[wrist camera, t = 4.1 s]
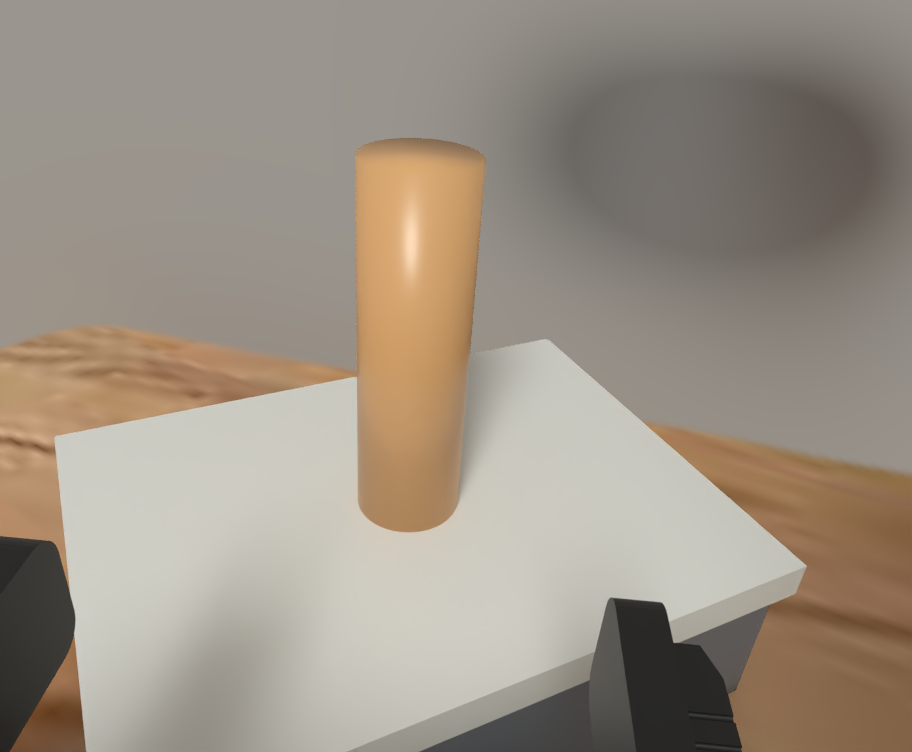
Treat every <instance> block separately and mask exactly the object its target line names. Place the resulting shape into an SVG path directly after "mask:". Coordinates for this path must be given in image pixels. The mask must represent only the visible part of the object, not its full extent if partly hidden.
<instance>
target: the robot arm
mask: <svg viewBox="0 0 912 752" xmlns="http://www.w3.org/2000/svg"><path fill="white" fill-rule="evenodd" d="M75 620H76V619H75V611H74V607H73V603H72V599H71V596H70V592H69V588H68V585H67V581H66V577H65V574H64V570H63V566H62V563H61V559H60V555H59V552H58V549H57V547H56V545H55V544H54V543H53V542H51V541H44V540H34V539H23V538H13V537H3V536H0V752H10V750H11V748H12V747H13V745H14V743H15V741H16V740H17V738H18V736H19V735H20V733H21V731H22V730H23V728H24V726H25V725H26V723H27V721H28V720H29V718H30V716H31V715H32V713H33V711H34V709H35V708H36V706H37V704H38V703H39V701H40V699H41V698H42V696H43V694H44V693H45V691H46V689H47V688H48V686H49V684H50V683H51V681H52V679H53V678H54V676H55V674H56V672H57V671H58V669H59V667H60V666H61V664H62V662H63V661H64V659H65V657H66V655H67V653H68V651H69V649H70V646H71V643H72V640H73V636H74V631H75ZM589 711H590V722H591V733H592V744H593V752H741V747H742V745H741V742H740V738H739V734H738V730H737V727H736V723H734V722H733V712H732V708H731V705H730V701H729V697H728V693H727V690H726V686H725V682H724V679H723V677H722V676H721V674H720V673H719V671H718V670H717V669H716V667H715V666H714V664H713V663H712V662H711V660H710V659H709V657H708V656H707V654H706V653H705V652H704V650H703V649H702V647H701V646H700V645H693V644H683V643H673V638H672V634H671V629H670V624H669V620H668V615H667V611H666V608H665V606H664V604H663V603H662V602H653V601H643V600H632V599H622V598H612V597H610V598H609V600H608V602H607V605H606V608H605V612H604V617H603V621H602V625H601V629H600V633H599V637H598V641H597V645H596V649H595V653H594V658H593V662H592V666H591V672H590V683H589Z"/></svg>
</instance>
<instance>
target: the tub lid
mask: <svg viewBox="0 0 912 752" xmlns="http://www.w3.org/2000/svg"><path fill="white" fill-rule="evenodd" d="M485 167H486V159H485V157H484V156H483V155H482V154H481V153H480V152H478V151H476V150H475V149H472V148H470V147H467V146H464V145H460V144H457V143H452V142H447V141H441V140H434V139H421V138H399V139H387V140H381V141H376V142H372V143H369V144H366V145H364V146H362V147H360V148H359V149H358V150H357V151H356V285H357V286H356V291H357V292H356V294H357V295H356V297H357V377H352V378H347V379H342V380H337V381H332V382H327V383H322V384H317V385H312V386H306V387H301V388H296V389H291V390H286V391H281V392H276V393H271V394H266V395H261V396H256V397H251V398H246V399H241V400H236V401H231V402H226V403H221V404H216V405H211V406H206V407H201V408H196V409H191V410H186V411H181V412H176V413H170V414H165V415H160V416H155V417H150V418H145V419H140V420H135V421H130V422H125V423H120V424H115V425H110V426H105V427H100V428H95V429H90V430H85V431H80V432H75V433H70V434H65V435H60V436H55V437H54V438H55V448H56V458H57V467H58V477H59V487H60V497H61V507H62V517H63V527H64V536H65V546H66V556H67V566H68V576H69V586H70V595H71V599H72V603H73V607H74V611H75V619H76V620H75V631H74V635H75V645H76V655H77V664H78V674H79V684H80V694H81V704H82V714H83V723H84V733H85V743H86V752H420V751H422V750H424V749H427V748H429V747H431V746H434V745H436V744H439V743H441V742H443V741H446V740H448V739H450V738H453V737H455V736H458V735H460V734H462V733H465V732H467V731H470V730H472V729H474V728H477V727H479V726H481V725H484V724H486V723H489V722H491V721H493V720H496V719H498V718H501V717H503V716H505V715H508V714H510V713H512V712H515V711H517V710H520V709H522V708H524V707H527V706H529V705H532V704H534V703H536V702H539V701H541V700H543V699H546V698H548V697H551V696H553V695H555V694H558V693H560V692H563V691H565V690H567V689H570V688H572V687H574V686H577V685H579V684H582V683H584V682H586V681H589V680H590V672H591V666H592V662H593V658H594V653H595V649H596V645H597V641H598V637H599V633H600V629H601V625H602V621H603V617H604V612H605V608H606V605H607V602H608V600H609V598H610V597H612V598H622V599H632V600H643V601H653V602H662V603H663V604H664V606H665V608H666V611H667V615H668V620H669V624H670V629H671V634H672V638H673V643H679V642H682V641H684V640H687V639H689V638H691V637H694V636H696V635H698V634H701V633H703V632H706V631H708V630H710V629H713V628H715V627H718V626H720V625H722V624H725V623H727V622H729V621H732V620H734V619H737V618H739V617H741V616H744V615H746V614H749V613H751V612H753V611H756V610H758V609H760V608H763V607H765V606H768V605H770V604H772V603H775V602H777V601H780V600H782V599H784V598H787V597H789V596H791V595H794V594H795V593H796V591H797V589H798V586H799V584H800V581H801V579H802V577H803V574H804V572H805V570H806V567H807V566H806V565H805V564H804V563H803V562H802V561H801V560H799V559H798V558H797V557H796V556H795V555H794V554H793V553H791V552H790V551H789V550H788V549H787V548H786V547H785V546H783V545H782V544H781V543H780V542H779V541H778V540H777V539H775V538H774V537H773V536H772V535H771V534H770V533H769V532H767V531H766V530H765V529H764V528H763V527H762V526H761V525H759V524H758V523H757V522H756V521H755V520H754V519H753V518H751V517H750V516H749V515H748V514H747V513H746V512H745V511H743V510H742V509H741V508H740V507H739V506H738V505H737V504H735V503H734V502H733V501H732V500H731V499H730V498H729V497H727V496H726V495H725V494H724V493H723V492H722V491H721V490H719V489H718V488H717V487H716V486H715V485H714V484H713V483H711V482H710V481H709V480H708V479H707V478H706V477H705V476H703V475H702V474H701V473H700V472H699V471H698V470H697V469H695V468H694V467H693V466H692V465H691V464H690V463H689V462H687V461H686V460H685V459H684V458H683V457H682V456H681V455H679V454H678V453H677V452H676V451H675V450H674V449H673V448H671V447H670V446H669V445H668V444H667V443H666V442H665V441H663V440H662V439H661V438H660V437H659V436H658V435H657V434H655V433H654V432H653V431H652V430H651V429H650V428H649V427H647V426H646V425H645V424H644V423H643V422H642V421H641V420H639V419H638V418H637V417H636V416H635V415H634V414H633V413H631V412H630V411H629V410H628V409H627V408H626V407H625V406H623V405H622V404H621V403H620V402H619V401H618V400H617V399H616V398H614V397H613V396H612V395H611V394H610V393H608V391H606V390H605V389H604V388H603V387H602V386H601V385H600V384H598V383H597V382H596V381H595V380H594V379H592V377H590V376H589V375H588V374H587V373H586V372H585V371H584V370H582V369H581V368H580V367H579V366H578V365H577V364H576V363H574V362H573V361H572V360H571V359H570V358H569V357H568V356H566V355H565V354H564V353H563V352H562V351H561V350H560V349H558V348H557V347H556V346H555V345H554V344H553V343H552V342H550V341H549V340H548V339H543V340H538V341H533V342H528V343H523V344H518V345H513V346H508V347H503V348H498V349H493V350H488V351H483V352H478V353H473V354H470V347H471V334H472V323H473V310H474V298H475V287H476V275H477V263H478V250H479V238H480V226H481V215H482V202H483V190H484V178H485Z"/></svg>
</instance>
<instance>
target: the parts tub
mask: <svg viewBox="0 0 912 752" xmlns="http://www.w3.org/2000/svg"><path fill="white" fill-rule="evenodd" d="M768 608H769V605H768V606H765V607H763V608H760V609H758V610H756V611H753V612H751V613H749V614H746V615H744V616H741V617H739V618H737V619H734V620H732V621H729V622H727V623H725V624H722V625H720V626H718V627H715V628H713V629H710V630H708V631H706V632H703V633H701V634H698V635H696V636H694V637H691V638H689V639H687V640H684V641H682V642H679V643H683V644H693V645H700V646H701V647H702V649H703V650H704V652H705V653H706V654H707V656H708V657H709V659H710V660H711V662H712V663H713V664H714V666H715V667H716V669H717V670H718V671H719V673H720V674H721V676H722V677H723V679H724V682H725V686H726V690H727V693H730V692H732V691H735V690H736V688H737V685H738V683H739V680H740V678H741V675H742V673H743V670H744V668H745V665H746V663H747V660H748V658H749V655H750V653H751V650H752V648H753V645H754V643H755V640H756V638H757V635H758V633H759V630H760V628H761V625H762V623H763V620H764V618H765V615H766V613H767V610H768ZM589 683H590V680H589V681H586V682H584V683H582V684H579V685H577V686H574V687H572V688H570V689H567V690H565V691H563V692H560V693H558V694H555V695H553V696H551V697H548V698H546V699H543V700H541V701H539V702H536V703H534V704H532V705H529V706H527V707H524V708H522V709H520V710H517V711H515V712H512V713H510V714H508V715H505V716H503V717H501V718H498V719H496V720H493V721H491V722H489V723H486V724H484V725H481V726H479V727H477V728H474V729H472V730H470V731H467V732H465V733H462V734H460V735H458V736H455V737H453V738H450V739H448V740H446V741H443V742H441V743H439V744H436V745H434V746H431V747H429V748H427V749H424V750H422V751H420V752H593V744H592V733H591V722H590V711H589Z"/></svg>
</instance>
